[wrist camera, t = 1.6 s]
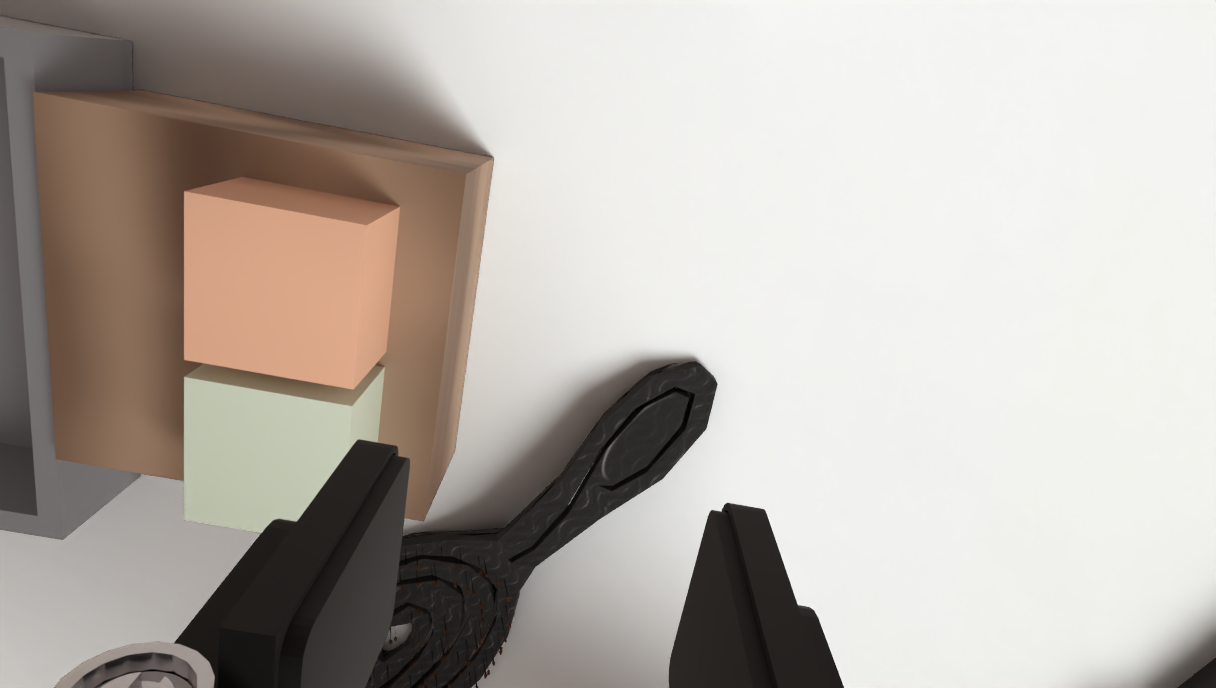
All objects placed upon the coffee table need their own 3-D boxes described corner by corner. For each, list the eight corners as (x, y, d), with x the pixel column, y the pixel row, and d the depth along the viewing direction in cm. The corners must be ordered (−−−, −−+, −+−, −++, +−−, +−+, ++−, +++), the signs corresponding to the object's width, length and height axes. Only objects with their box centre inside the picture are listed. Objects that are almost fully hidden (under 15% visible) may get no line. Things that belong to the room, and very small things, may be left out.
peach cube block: (400, 206, 21) (367, 225, 19) (386, 351, 23) (353, 389, 20) (242, 176, 21) (184, 191, 18) (238, 325, 23) (184, 359, 20)
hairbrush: (793, 470, 27) (336, 844, 32) (770, 429, 31) (362, 770, 35) (637, 309, 25) (176, 731, 30) (631, 285, 29) (220, 666, 33)
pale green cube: (385, 366, 23) (351, 406, 20) (372, 492, 25) (340, 546, 22) (237, 340, 23) (184, 376, 20) (234, 469, 24) (184, 519, 22)
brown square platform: (494, 157, 26) (466, 174, 21) (454, 451, 30) (423, 521, 25) (142, 89, 25) (32, 91, 21) (147, 398, 29) (55, 459, 24)
